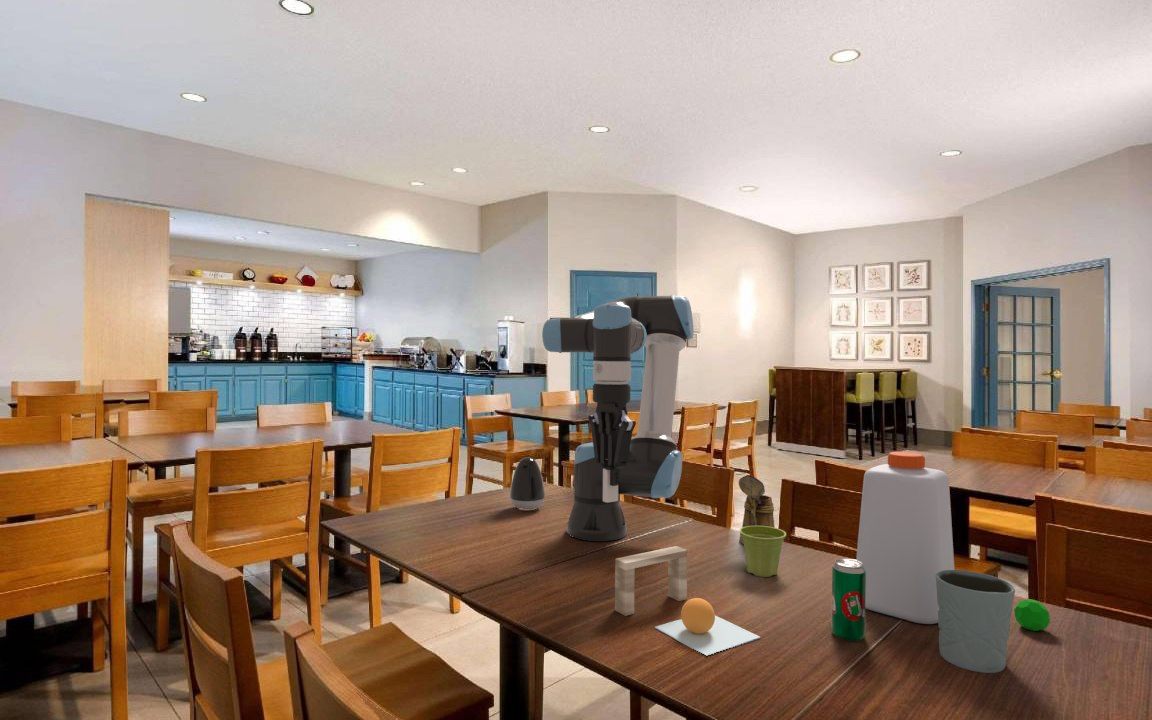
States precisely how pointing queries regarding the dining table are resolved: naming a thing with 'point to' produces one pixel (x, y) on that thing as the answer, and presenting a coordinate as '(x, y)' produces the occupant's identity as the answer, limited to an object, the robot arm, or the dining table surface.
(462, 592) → the dining table surface
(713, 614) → the ball
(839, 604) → the soda can
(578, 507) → the robot arm
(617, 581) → the bridge
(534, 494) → the black rounded dome
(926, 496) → the plastic bottle
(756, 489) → the wooden mug
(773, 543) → the plant pot
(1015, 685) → the dining table surface
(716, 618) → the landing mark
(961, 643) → the grey cup
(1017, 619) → the polyhedron
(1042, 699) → the dining table surface
